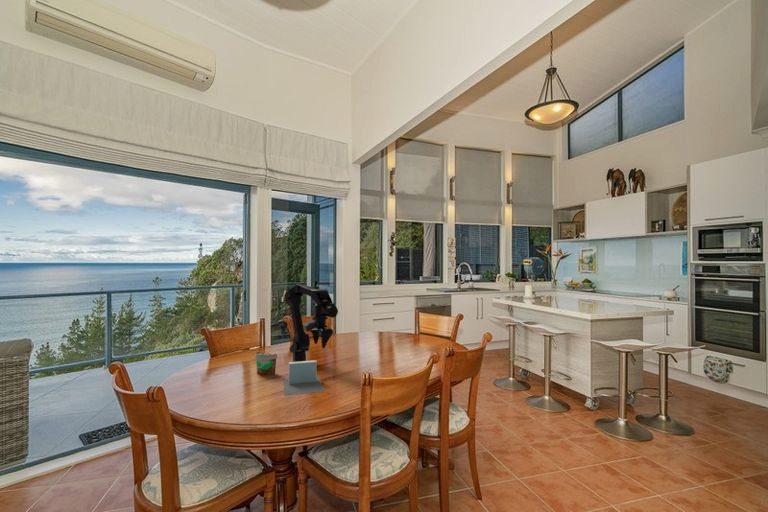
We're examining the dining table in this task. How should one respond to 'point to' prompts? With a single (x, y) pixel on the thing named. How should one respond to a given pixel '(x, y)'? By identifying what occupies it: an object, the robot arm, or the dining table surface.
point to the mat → (302, 387)
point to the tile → (302, 372)
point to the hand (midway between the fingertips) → (319, 345)
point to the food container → (265, 363)
